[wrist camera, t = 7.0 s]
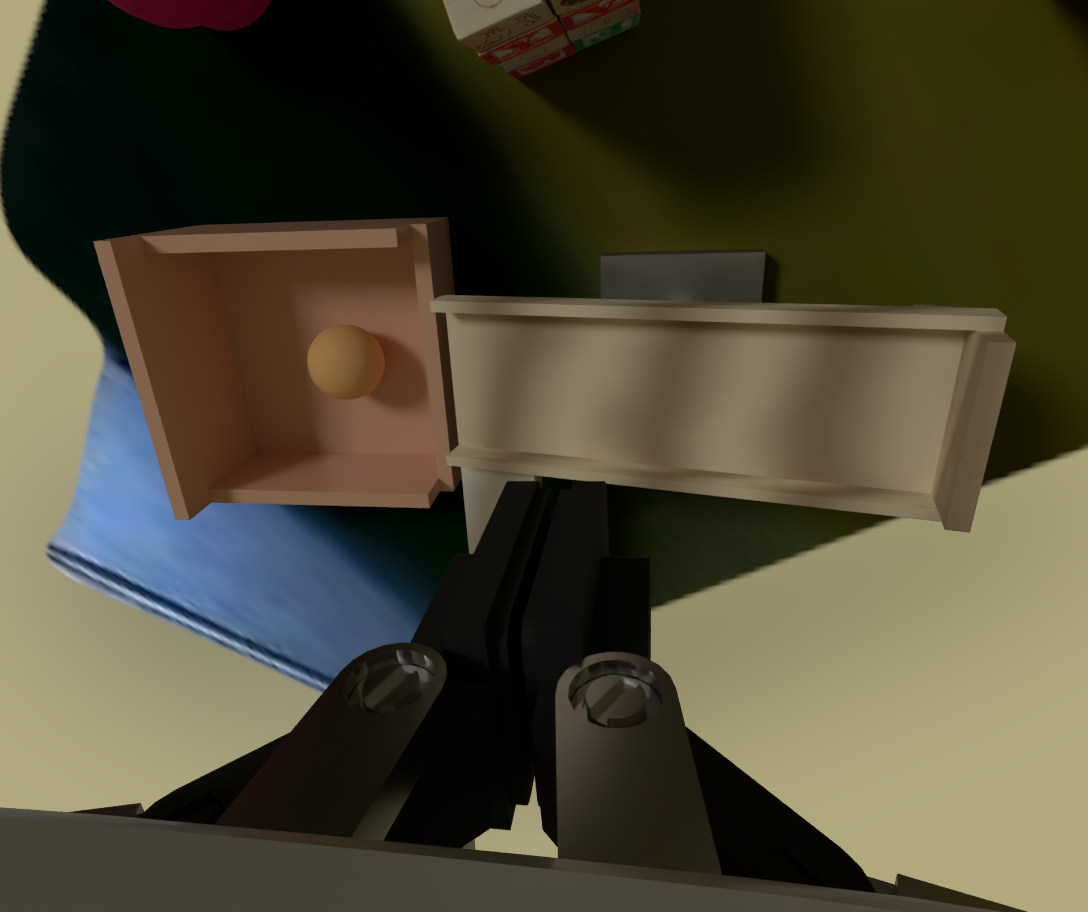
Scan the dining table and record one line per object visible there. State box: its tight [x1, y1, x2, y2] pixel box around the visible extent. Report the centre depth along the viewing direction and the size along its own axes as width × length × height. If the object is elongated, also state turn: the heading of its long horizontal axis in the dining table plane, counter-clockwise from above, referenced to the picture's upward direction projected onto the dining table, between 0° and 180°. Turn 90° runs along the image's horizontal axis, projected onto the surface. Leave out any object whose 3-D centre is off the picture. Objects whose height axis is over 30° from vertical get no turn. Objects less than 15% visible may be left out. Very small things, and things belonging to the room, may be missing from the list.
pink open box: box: [93, 217, 462, 520], centre depth 35 cm, size 14×14×8 cm
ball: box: [307, 324, 385, 400], centre depth 36 cm, size 4×4×4 cm
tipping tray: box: [430, 295, 1016, 554], centre depth 31 cm, size 22×16×6 cm
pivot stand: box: [601, 249, 766, 303], centre depth 33 cm, size 8×10×6 cm
